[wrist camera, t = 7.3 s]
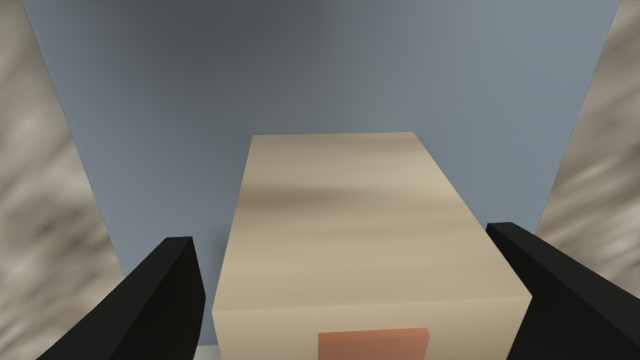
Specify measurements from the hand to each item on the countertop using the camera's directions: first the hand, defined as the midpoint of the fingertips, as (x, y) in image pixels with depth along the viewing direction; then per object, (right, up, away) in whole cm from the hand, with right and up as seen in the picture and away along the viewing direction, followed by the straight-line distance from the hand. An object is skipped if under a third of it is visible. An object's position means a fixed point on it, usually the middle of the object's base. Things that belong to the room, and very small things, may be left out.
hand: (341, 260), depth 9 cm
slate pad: (0, +2, +3) cm, 3 cm away
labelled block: (0, +1, +2) cm, 3 cm away
